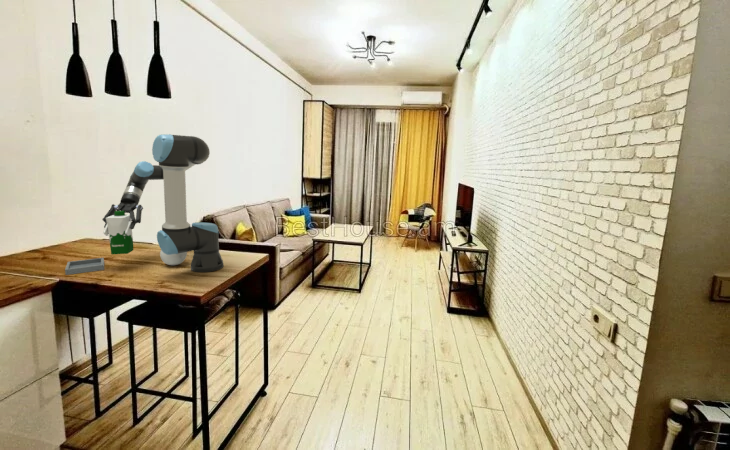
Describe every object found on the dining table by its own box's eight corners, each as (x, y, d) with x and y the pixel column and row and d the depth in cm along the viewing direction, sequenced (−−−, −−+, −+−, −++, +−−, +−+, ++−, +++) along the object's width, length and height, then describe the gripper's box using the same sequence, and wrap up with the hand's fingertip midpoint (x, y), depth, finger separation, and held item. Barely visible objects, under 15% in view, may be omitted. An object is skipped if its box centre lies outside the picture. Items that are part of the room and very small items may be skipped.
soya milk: (136, 249, 170) (131, 210, 167) (129, 254, 162) (124, 213, 158) (116, 250, 168) (111, 210, 164) (107, 255, 159) (102, 213, 156)
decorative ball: (171, 270, 166) (169, 246, 164) (155, 266, 171) (153, 243, 169) (192, 263, 177) (191, 241, 175) (177, 260, 182) (175, 238, 179)
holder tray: (104, 269, 163) (103, 264, 163) (65, 274, 155) (64, 269, 154) (104, 262, 174) (103, 257, 173) (68, 266, 166) (67, 261, 165)
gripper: (156, 201, 177) (144, 238, 164) (112, 201, 174) (95, 238, 162) (150, 192, 171) (137, 229, 158) (104, 192, 168) (86, 229, 155)
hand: (116, 234), depth 160 cm, fingers closed on soya milk, 9 cm apart
